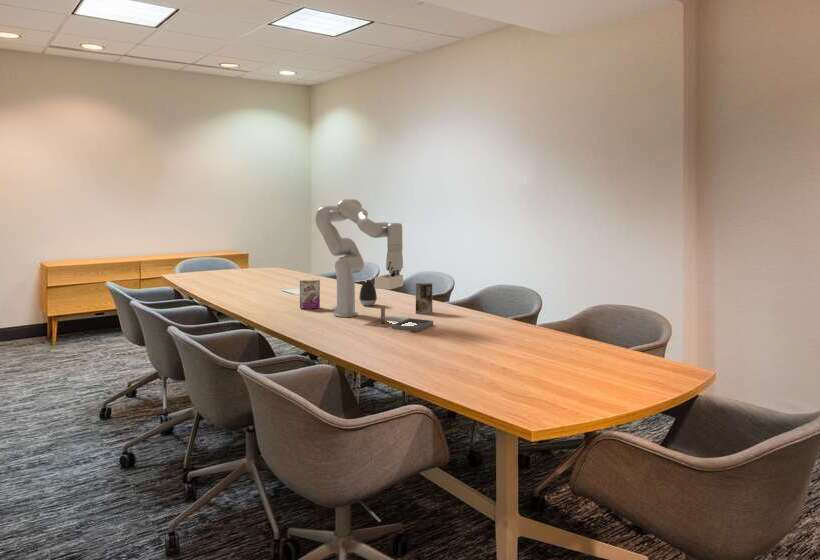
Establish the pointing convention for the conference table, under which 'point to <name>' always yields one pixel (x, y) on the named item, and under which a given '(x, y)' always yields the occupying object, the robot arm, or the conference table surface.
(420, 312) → the coffee box
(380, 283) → the collar
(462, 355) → the conference table surface
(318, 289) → the candy bar box
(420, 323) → the tray
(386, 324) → the stake stand
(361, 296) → the dark vase
